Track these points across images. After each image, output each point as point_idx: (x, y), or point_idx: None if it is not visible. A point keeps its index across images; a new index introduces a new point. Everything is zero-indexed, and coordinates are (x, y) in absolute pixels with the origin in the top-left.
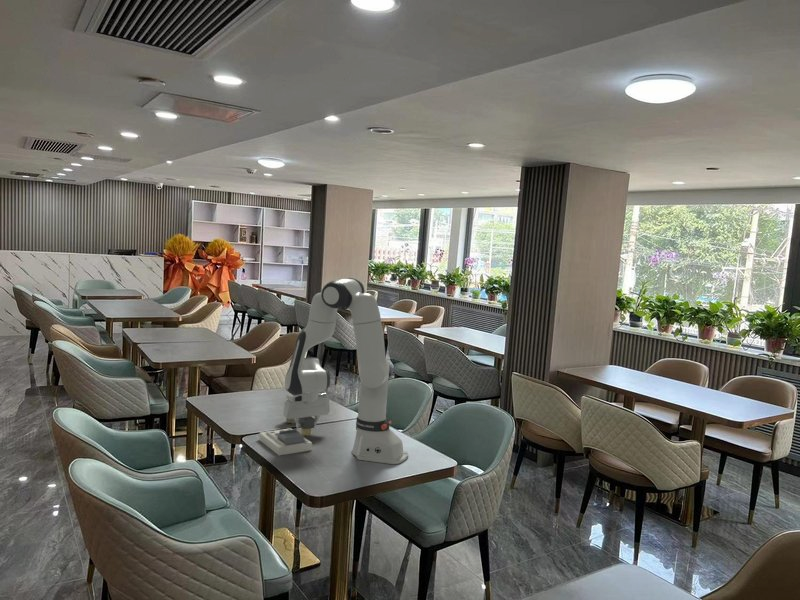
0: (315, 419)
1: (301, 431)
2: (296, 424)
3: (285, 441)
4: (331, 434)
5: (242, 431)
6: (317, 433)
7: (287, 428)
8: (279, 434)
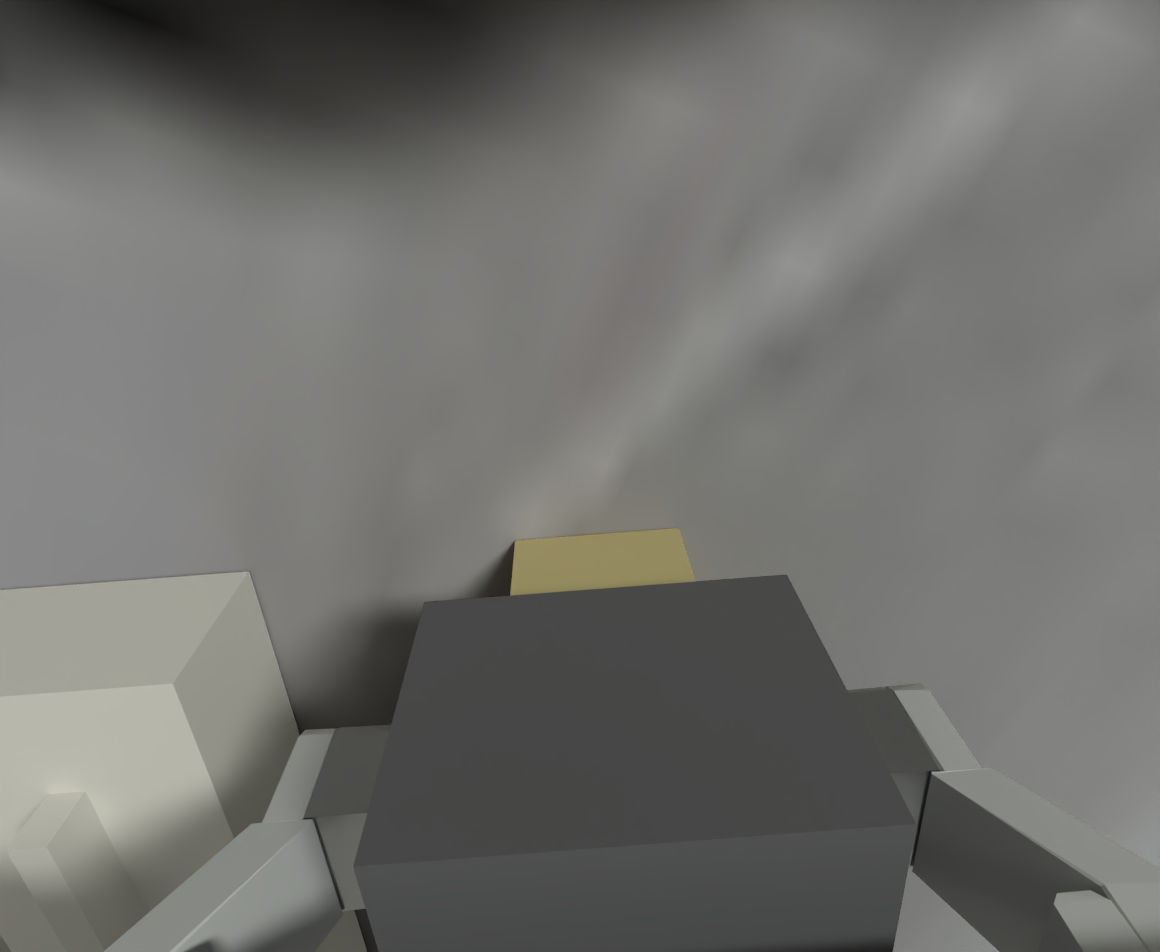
0: (984, 871)
1: (513, 576)
2: (284, 804)
3: None
4: (1061, 741)
5: None
6: (855, 623)
7: (12, 843)
8: None
